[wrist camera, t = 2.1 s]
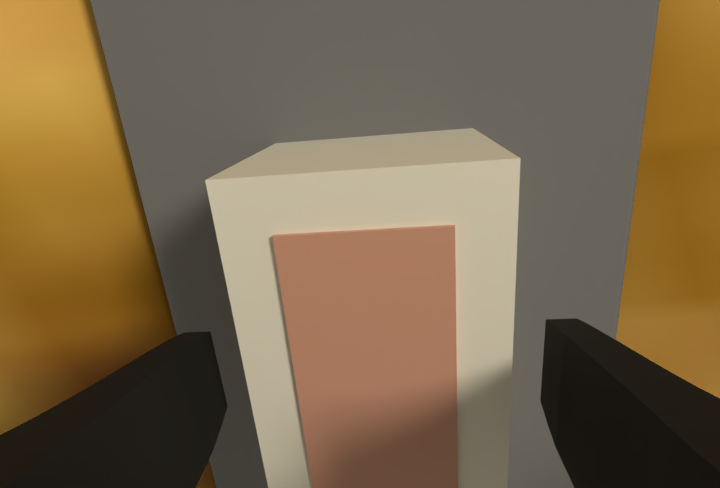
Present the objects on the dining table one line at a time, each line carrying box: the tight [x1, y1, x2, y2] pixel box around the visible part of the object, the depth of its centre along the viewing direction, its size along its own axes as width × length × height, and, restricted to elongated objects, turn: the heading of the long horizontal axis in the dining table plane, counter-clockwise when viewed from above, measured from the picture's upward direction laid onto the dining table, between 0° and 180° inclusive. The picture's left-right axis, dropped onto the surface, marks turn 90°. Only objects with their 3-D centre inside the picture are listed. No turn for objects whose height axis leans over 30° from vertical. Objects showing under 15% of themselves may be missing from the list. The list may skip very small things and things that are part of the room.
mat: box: [90, 0, 660, 488], centre depth 15 cm, size 13×34×1 cm, turn 5°
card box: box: [205, 128, 521, 488], centre depth 11 cm, size 9×5×5 cm, turn 5°
